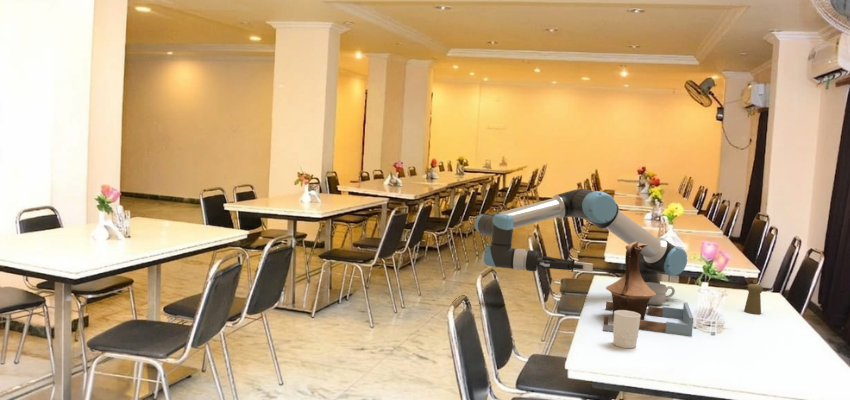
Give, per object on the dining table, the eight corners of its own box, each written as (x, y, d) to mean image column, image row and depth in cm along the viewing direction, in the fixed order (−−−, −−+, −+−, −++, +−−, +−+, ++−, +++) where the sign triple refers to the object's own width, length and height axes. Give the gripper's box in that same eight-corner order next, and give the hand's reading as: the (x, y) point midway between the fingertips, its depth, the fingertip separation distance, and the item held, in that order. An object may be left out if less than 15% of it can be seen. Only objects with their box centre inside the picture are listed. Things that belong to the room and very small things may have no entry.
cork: (757, 311, 277) (760, 283, 276) (763, 314, 271) (766, 286, 270) (741, 309, 277) (744, 282, 276) (747, 313, 271) (750, 285, 270)
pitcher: (645, 329, 238) (653, 247, 236) (596, 319, 247) (603, 240, 245) (658, 319, 253) (666, 242, 251) (612, 310, 262) (618, 235, 260)
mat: (602, 330, 233) (602, 330, 233) (603, 325, 240) (603, 324, 240) (634, 334, 230) (634, 334, 230) (634, 328, 238) (634, 328, 238)
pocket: (665, 332, 235) (667, 315, 235) (662, 316, 259) (663, 299, 258) (691, 336, 233) (693, 318, 232) (685, 318, 256) (687, 302, 256)
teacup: (634, 304, 276) (636, 284, 275) (637, 299, 286) (639, 279, 285) (672, 309, 270) (674, 289, 270) (674, 304, 280) (675, 284, 280)
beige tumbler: (623, 350, 212) (626, 317, 211) (605, 342, 219) (608, 310, 218) (643, 347, 216) (646, 315, 215) (625, 340, 223) (627, 309, 222)
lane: (603, 324, 241) (604, 316, 240) (605, 309, 264) (606, 301, 264) (665, 332, 235) (666, 323, 235) (661, 315, 259) (662, 307, 258)
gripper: (528, 267, 265) (592, 275, 259) (523, 273, 252) (590, 281, 246) (529, 247, 264) (594, 254, 258) (525, 252, 252) (592, 260, 246)
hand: (592, 267), depth 252 cm, fingers closed
